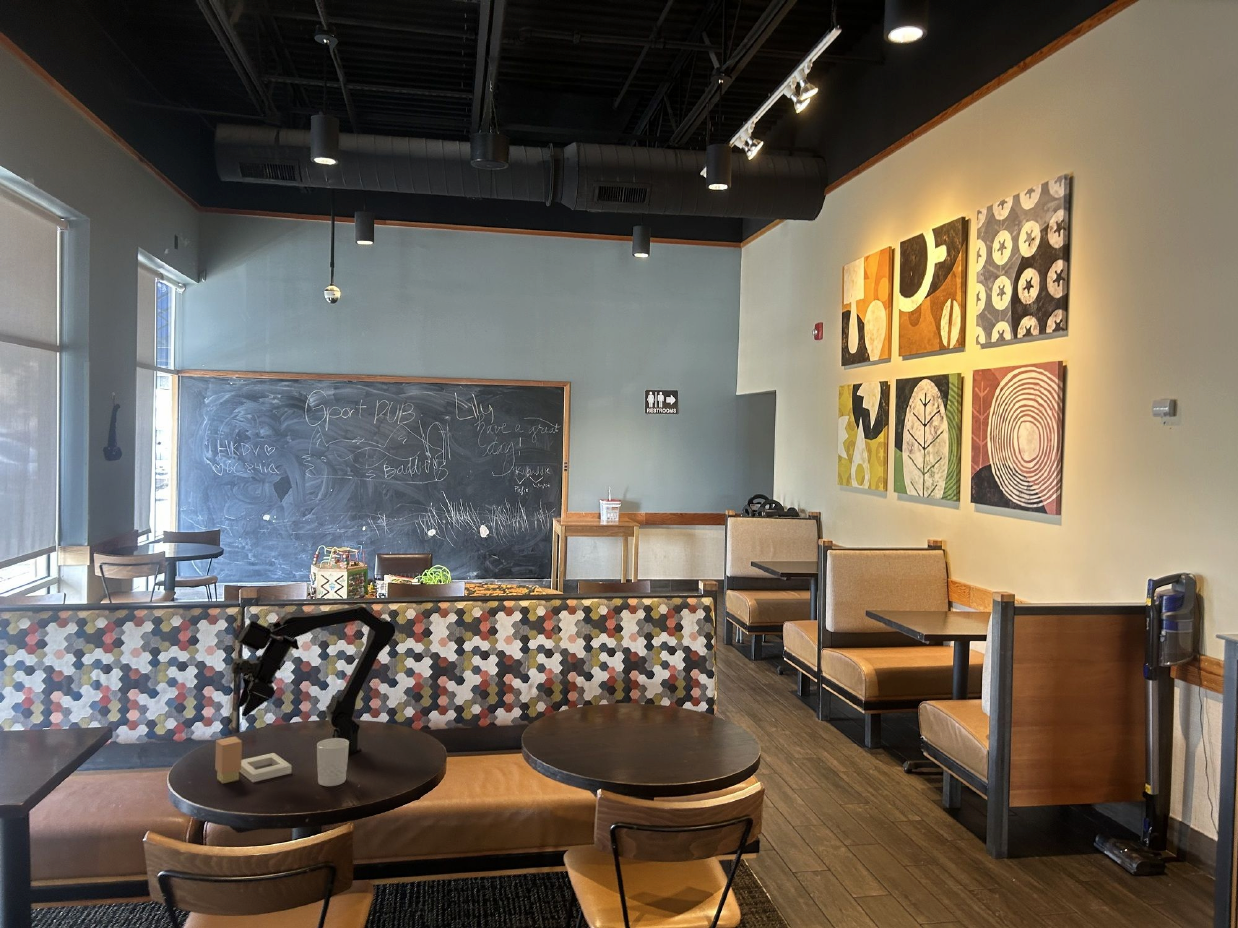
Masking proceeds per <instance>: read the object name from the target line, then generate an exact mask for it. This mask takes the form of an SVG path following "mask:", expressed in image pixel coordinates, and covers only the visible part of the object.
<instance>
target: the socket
mask: <svg viewBox="0 0 1238 928" xmlns="http://www.w3.org/2000/svg"><path fill="white" fill-rule="evenodd" d="M239 773H241V774H242V775H243V776H245V778H247V779H248V780H249V781H251V782H252V783H256V782H259V781H264V780H268V779H272V778H276V777H280V776H285V775H289V774H292V764H291V763H289V762H287V761H286V760H284V759H283V758H281V757H280V756H279V755H278V754H276V753H275V752H272V753H267V754H263V755H258V756H253V757H249V758H248V757H247V758H243V759H241V770H240V771H239Z"/></svg>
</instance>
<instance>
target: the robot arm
mask: <svg viewBox="0 0 1238 928" xmlns="http://www.w3.org/2000/svg"><path fill="white" fill-rule="evenodd" d="M279 619H280V620H278V621H276V622H273V623H272V624H269V625H268V626H265V625H263V624H261V623H260V622H258V621H256V620H254V619H250V620H249V622H248V623H247V624H246V626H245V627H244V628H242V630H241V632H240V633H239V634H238V635H239V636H238V638H237V643H238V644H240V645H241V646H244V647H247V648H249V649H252V650H253V651H256V652H258V651H260V650H263V652H262V653H261V654H259V655H257V656H256V658H255V659H253V658H252V659H250V658H236V657H235V658H233V659H232V664H231V673H232V674H233V675H240V674H241V680H242V682H243V687H242V690H241V694H240V697H239V701H238V703H237V706H238V707H240V708H242V707H243V706H244V707H243V711H242V713H241V716H242V717H244V718H245V717H247V716H248V715H251V713H252V712H254V711H255V710H256V709H258V708H260V706H262V705H263V704H264V703H266V702H267V701H270V699H271V700H272V699H273V697H274V695H275V693H276V690H275V687H274V685H273V683H274V680H273V679H274V678H275V676H276V674H277V672H278V671H281V669H282V668H283V667H282V663H283V662H284V660H285V658H286V657H287V655H288V654H289V651H290V650H291V648H292V649H295V650H297V651H299V649H300V647H299V644H298V639H297V637H301V636H304V635H307V634H309V633H311V632H312V631H313V630H317V629H320V628H321V629H322V628H326V627H327V628H328V627H331V626H332V627H333V626H336V625H343V624H348V623H353V622H357V621H359V622H360V623H362V624H363V625H364V626H366V627H368V632H367V634H366V642H365V646H364V649H363V650H362V652H361V654H360V656H359V658H358V661H356V664H355V666H354V668H353V670H352V672H351V674H350V676H349V678H348V680H347V682H346V684H345V685H344V688H343V689H342V691H341V692H340V693H339V694H338V695H335V694H332V696H331V699H330V701H329V703H328V704H327V705H326V706H325V708H326V712H325V713H326V714H325V715H326V718H327V720H328V721H329V723H330V724H331V725H332V726H333V727H334V729H333V732H332V733H333V734H332V738H342V739H346V740H348V741H349V749H348V757H349V756H350V755H353V754H355V753H357V752H360V751H362V747H358V745H359V743H358V741H359V730H360V727H361V726H360V725H359V723H358V722H357V721H356V719H355V718H354V717H353V716H354V714H355V710H356V705H357V699H358V697H359V694H360V692H361V690H362V688H363V686H364V685H365V682H367V678H368V676H369V675H370V672H371V670H372V668H373V666H374V665H375V662H376V661H377V658H378V657H379V654H380V653H381V652H382V651H383V650H384V649H385V648H386V647H387V646H388V645H389V644H390V642H391V641H392V640H393V638H394V637H395V635H396V627H395V625H394V624H393V623H392V622H391V621H389V620H388V619H387V618H384V617H377V616H376V615H374V614H373V613H372V612H370V611H369V610H368V608H366V607H365V606H364V605H362V604H356V605H353V606H349V607H343V608H338V609H332V610H327V611H321V612H320V611H319V612H316V613H310V612H309V613H306V612H288V613H285V614H284V615H282V616H281V618H279ZM290 638H291V639H290Z"/></svg>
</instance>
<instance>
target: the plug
mask: <svg viewBox="0 0 1238 928" xmlns="http://www.w3.org/2000/svg"><path fill="white" fill-rule="evenodd" d="M242 748H243V741H242V740H241V739H240V738H238V737H237V736H231V737H226V738H225V737H224V738H220V739H215V758H214V759H215V761H214V762H215V763H214V764H215V765H214V767H215V768H214V769H215V770H216V775H217V776H216V779H217V780H218V781H219V782H220V783H221V784H227V783H230V782H235V781H239V780H240V772H239V771H240V770H241V760H242V755H243V754H242V753H243V752H242V751H243V750H242Z"/></svg>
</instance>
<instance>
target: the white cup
mask: <svg viewBox="0 0 1238 928" xmlns="http://www.w3.org/2000/svg"><path fill="white" fill-rule="evenodd" d="M348 749H349V741H348V740H346V739H342V738H333V737H331V738H326V739H325V738H324V739H322V740H320V741H319V742H317V744H316V760H317V761H316V765H317V783H318V785H320V786H324V787H335V786H336V787H337V786H339V785H341V784H343V783H345V782H346V780H347V779H346V778H347V771H348V770H347V769H348V761H349V759H348V758H349V756H348Z"/></svg>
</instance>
